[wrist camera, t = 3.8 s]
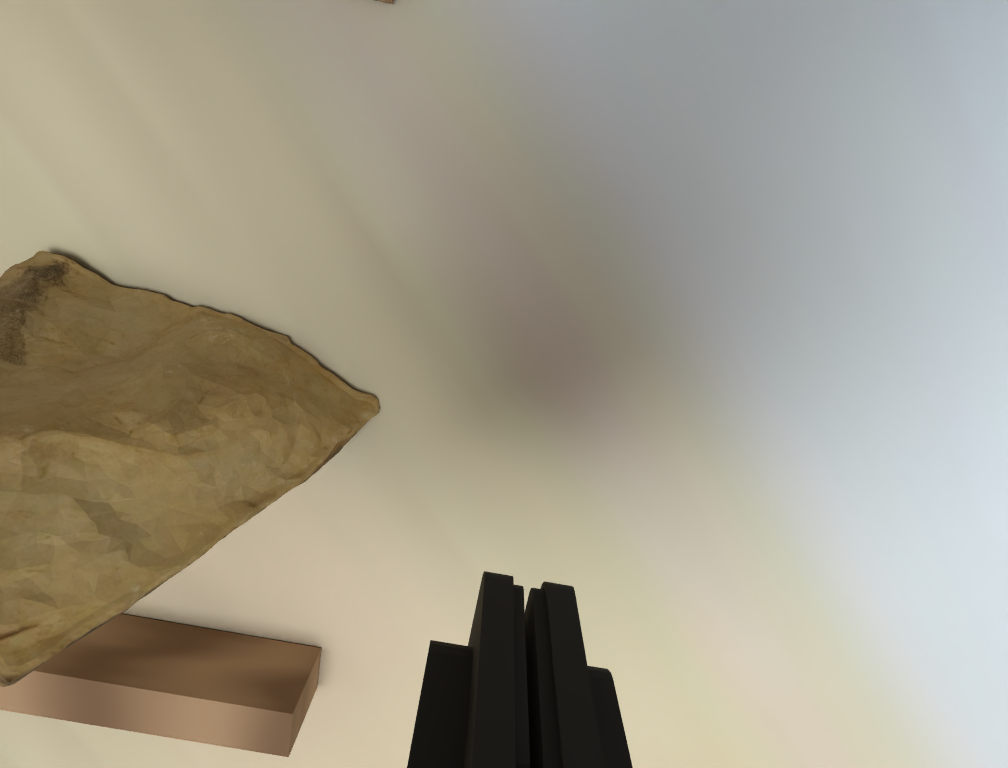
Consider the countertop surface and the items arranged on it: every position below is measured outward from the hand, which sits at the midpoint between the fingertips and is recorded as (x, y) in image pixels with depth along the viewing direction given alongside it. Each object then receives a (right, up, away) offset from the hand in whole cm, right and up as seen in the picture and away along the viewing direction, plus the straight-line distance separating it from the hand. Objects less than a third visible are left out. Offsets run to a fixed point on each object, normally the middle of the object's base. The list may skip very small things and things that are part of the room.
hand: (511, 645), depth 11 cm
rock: (-10, +6, +9) cm, 14 cm away
